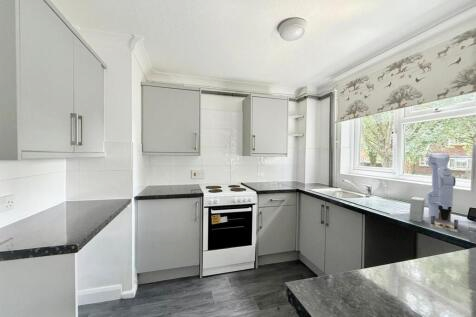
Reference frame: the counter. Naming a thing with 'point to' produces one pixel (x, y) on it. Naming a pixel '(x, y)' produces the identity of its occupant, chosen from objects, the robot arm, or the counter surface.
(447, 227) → the board
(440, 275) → the counter surface
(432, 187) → the robot arm
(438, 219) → the brown small block
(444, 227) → the peg
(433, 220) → the wire gate
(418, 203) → the skincare box
